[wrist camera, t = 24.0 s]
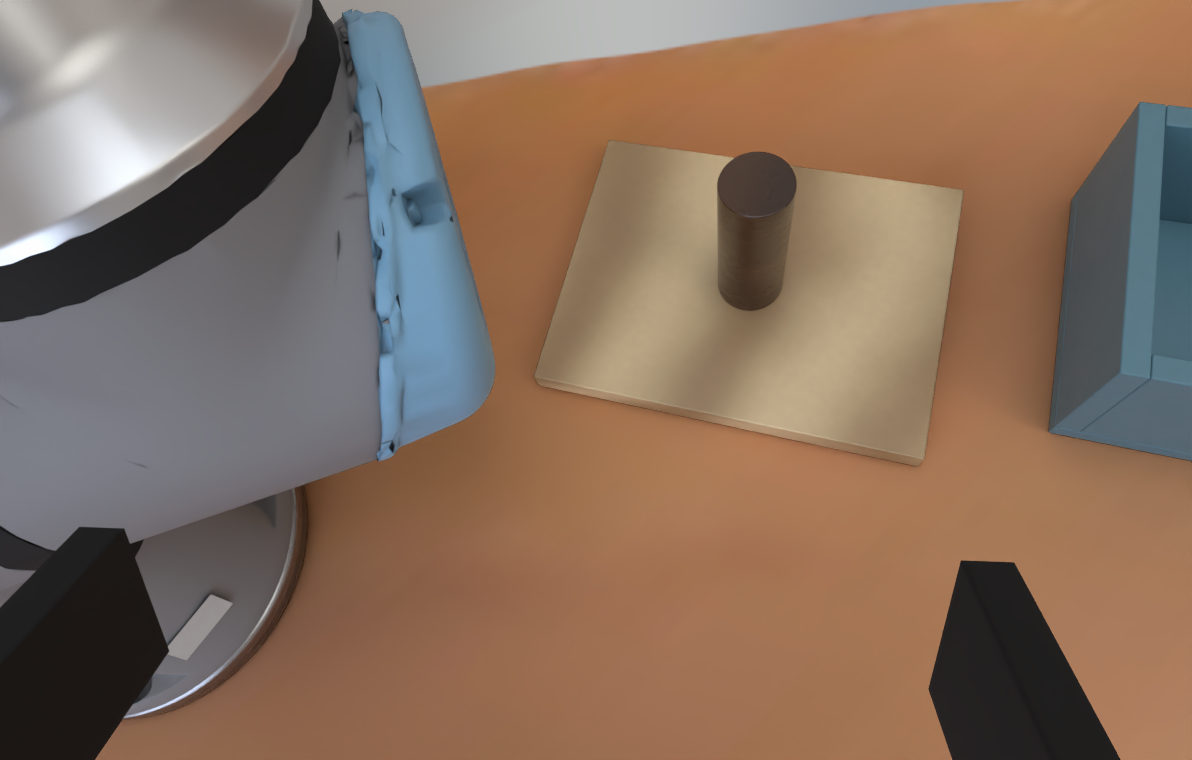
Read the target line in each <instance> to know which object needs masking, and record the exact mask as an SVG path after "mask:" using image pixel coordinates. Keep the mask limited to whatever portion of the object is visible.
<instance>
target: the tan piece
mask: <svg viewBox="0 0 1192 760" xmlns="http://www.w3.org/2000/svg"><path fill="white" fill-rule="evenodd" d="M963 194H964V190H960V189H953V188H946V187H939V186H932V185H925V184H918V183H911V182H904V181H896V180H889V179H882V178H875V177H868V176H861V175H854V174H847V173H840V172H833V171H826V170H819V169H812V168H804V167H797V166H790V165H789V164H788V163H787V162H786V161H784V160H783V159H782V158H780V157H778V156H776V155H774V154H770V153H766V152H750V153H746V154H743V155H740V156H738V157H736V158H734V157H727V156H719V155H712V154H705V153H698V152H691V151H684V150H677V149H670V148H663V147H656V146H649V145H642V144H635V143H627V142H620V141H613V140H609V141H608V145H607V148H606V151H605V154H604V157H603V160H602V163H601V167H600V170H599V173H598V176H597V179H596V182H595V185H594V189H593V192H592V195H591V198H590V201H589V204H588V207H587V211H586V214H585V217H584V220H583V223H582V226H581V230H580V233H579V236H578V239H577V242H576V245H575V248H574V252H573V255H572V258H571V261H570V264H569V267H568V270H567V274H566V277H565V280H564V283H563V286H562V289H561V292H560V296H559V299H558V302H557V305H556V308H555V311H554V314H553V318H552V321H551V324H550V327H549V330H548V333H547V336H546V340H545V343H544V346H543V349H542V352H541V355H540V358H539V362H538V365H537V368H536V371H535V374H534V377H535V379H536V381H537V383H538V384H539V385H540V386H545V387H549V388H554V389H559V390H563V391H568V392H573V393H577V394H582V395H587V396H591V397H596V398H601V399H605V400H610V401H615V402H619V403H624V404H629V405H633V406H638V407H643V408H647V409H652V410H657V411H661V412H666V413H671V414H675V415H680V416H685V417H689V418H694V419H699V420H703V421H708V422H713V423H717V424H722V425H727V426H731V427H736V428H741V429H745V430H750V431H755V432H759V433H764V434H769V435H773V436H778V437H783V438H787V439H792V440H796V441H801V442H806V443H810V444H815V445H820V446H824V447H829V448H834V449H838V450H843V451H848V452H852V453H857V454H862V455H866V456H871V457H876V458H880V459H885V460H890V461H894V462H899V463H904V464H908V465H913V466H919V465H920V464H921V462H922V461H923V460H924V459H925V452H926V445H927V438H928V431H929V425H930V418H931V411H932V404H933V398H934V391H935V384H936V377H937V370H938V364H939V357H940V350H941V343H942V337H943V330H944V323H945V316H946V309H947V303H948V296H949V289H950V282H951V276H952V269H953V262H954V255H955V249H956V242H957V235H958V228H959V221H960V215H961V208H962V201H963Z"/></svg>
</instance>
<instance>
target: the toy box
mask: <svg viewBox="0 0 1192 760" xmlns="http://www.w3.org/2000/svg"><path fill="white" fill-rule="evenodd" d="M1049 432H1050V433H1055V434H1060V435H1065V436H1070V437H1075V438H1080V439H1085V440H1090V441H1095V442H1100V443H1105V444H1110V445H1115V446H1120V447H1125V448H1130V449H1135V450H1140V451H1145V452H1150V453H1155V454H1160V455H1165V456H1170V457H1175V458H1180V459H1185V460H1190V461H1192V108H1188V107H1179V106H1171V105H1168V106H1167V107H1166V105H1163V104H1154V103H1145V102H1140V103H1139V104H1138V105H1137V107H1136V108H1135V110H1134V111H1133V112H1132V114H1131V115H1130V117H1129V118H1128V120H1127V121H1126V123H1125V124H1124V125H1123V127H1122V128H1121V130H1120V131H1119V133H1118V134H1117V135H1116V137H1115V138H1114V140H1113V141H1112V143H1111V144H1110V145H1109V147H1108V148H1107V150H1106V151H1105V153H1104V154H1103V156H1102V157H1101V158H1100V160H1099V161H1098V163H1097V164H1096V166H1095V167H1094V168H1093V170H1092V171H1091V173H1090V174H1089V176H1088V177H1087V178H1086V180H1085V181H1084V183H1083V184H1082V186H1081V187H1080V189H1079V190H1078V191H1077V193H1076V194H1075V196H1074V197H1073V199H1072V201H1071V211H1070V221H1069V231H1068V241H1067V251H1066V261H1065V271H1064V282H1063V292H1062V302H1061V312H1060V322H1059V332H1058V342H1057V352H1056V362H1055V372H1054V382H1053V392H1052V402H1051V412H1050V423H1049Z"/></svg>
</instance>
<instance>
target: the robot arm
mask: <svg viewBox="0 0 1192 760" xmlns="http://www.w3.org/2000/svg"><path fill="white" fill-rule="evenodd" d="M494 378H495V359H494V354H493V349H492V344H491V340H490V336H489V332H488V328H487V324H486V321H485V317H484V313H483V309H482V305H481V301H480V298H479V294H478V290H477V287H476V283H475V279H474V275H473V272H472V268H471V264H470V261H469V257H468V253H467V249H466V246H465V242H464V238H463V235H462V231H461V228H460V224H459V220H458V217H457V213H456V209H455V206H454V202H453V199H452V195H451V192H450V188H449V185H448V181H447V178H446V174H445V171H444V167H443V164H442V160H441V156H440V152H439V149H438V145H437V141H436V138H435V134H434V131H433V127H432V124H431V120H430V117H429V113H428V110H427V106H426V103H425V99H424V96H423V92H422V89H421V85H420V82H419V79H418V75H417V72H416V68H415V65H414V62H413V59H412V56H411V54H410V50H409V48H408V44H407V41H406V37H405V34H404V30H403V27H402V25H401V24H400V22H399V21H398V20H397V19H396V18H395V17H394V16H393V15H391V14H389V13H386V12H379V11H377V12H372V13H363V12H360V11H358V10H355V11H353V12H352V9H351V10H348V11H346V12H344V13H342V17H341V18H340V19H339V20H338V21H337V22H335V23H334V24H333V23H332V22H331V21H330V19H329V18H328V16H327V14H326V12H325V11H324V9H323V7H322V5H321V3H320V1H319V0H0V760H95V758H96V757H97V756H98V754H99V753H100V751H101V750H102V748H103V747H104V745H105V744H106V743H107V741H108V740H109V738H110V737H111V735H112V734H113V732H114V731H115V729H116V728H117V727H118V725H119V724H120V722H121V721H122V720H126V719H137V718H145V717H150V716H155V715H159V714H163V713H166V712H169V711H172V710H175V709H177V708H180V707H182V706H184V705H187V704H189V703H191V702H193V701H195V700H197V699H198V698H200V697H202V696H204V695H206V694H207V693H209V692H210V691H212V690H213V689H215V688H216V687H218V686H219V685H221V684H222V683H223V682H225V681H226V680H227V679H228V678H229V677H231V676H232V675H233V674H234V673H236V672H237V671H238V670H239V669H240V668H241V667H242V666H243V665H244V664H245V663H246V662H247V661H248V660H249V659H250V658H251V657H252V656H253V654H254V653H255V652H256V651H257V650H258V649H259V648H260V646H261V645H262V644H263V643H264V641H265V640H266V638H267V637H268V636H269V634H270V633H271V632H272V630H273V629H274V627H275V625H276V624H277V622H278V621H279V619H280V617H281V616H282V614H283V612H284V610H285V608H286V606H287V604H288V602H289V600H290V598H291V595H292V593H293V590H294V588H295V585H296V583H297V580H298V576H299V573H300V570H301V567H302V562H303V558H304V553H305V547H306V540H307V525H308V515H307V502H306V495H305V489H304V484H307V483H310V482H313V481H316V480H319V479H322V478H324V477H327V476H330V475H333V474H336V473H339V472H342V471H345V470H348V469H351V468H354V467H357V466H360V465H363V464H365V463H368V462H371V461H374V460H377V461H382V460H386V459H389V458H391V457H392V456H393V455H395V453H396V452H397V450H398V448H399V447H402V446H404V445H406V444H409V443H411V442H413V441H416V440H418V439H420V438H423V437H425V436H427V435H430V434H432V433H435V432H437V431H439V430H442V429H444V428H446V427H449V426H451V425H453V424H456V423H458V422H460V421H462V420H464V419H466V418H468V417H469V416H471V415H472V414H473V413H475V412H476V411H477V410H478V409H479V408H480V407H481V406H482V404H483V403H484V402H485V400H486V399H487V397H488V395H489V393H490V391H491V389H492V386H493V383H494ZM929 692H930V695H931V698H932V701H933V704H934V707H935V710H936V713H937V716H938V718H939V721H940V724H941V727H942V730H943V733H944V736H945V739H946V742H947V745H948V748H949V751H950V754H951V757H952V760H1120V758H1119V756H1118V754H1117V752H1116V750H1115V749H1114V747H1113V745H1112V743H1111V741H1110V739H1109V737H1108V736H1107V734H1106V732H1105V730H1104V728H1103V726H1102V725H1101V723H1100V721H1099V719H1098V717H1097V715H1096V713H1095V712H1094V710H1093V708H1092V706H1091V704H1090V702H1089V700H1088V699H1087V697H1086V695H1085V693H1084V691H1083V689H1082V687H1081V686H1080V684H1079V682H1078V680H1077V678H1076V676H1075V674H1074V673H1073V671H1072V669H1071V667H1070V665H1069V663H1068V661H1067V660H1066V658H1065V656H1064V654H1063V652H1062V650H1061V648H1060V647H1059V645H1058V643H1057V641H1056V639H1055V637H1054V636H1053V634H1052V632H1051V630H1050V628H1049V626H1048V624H1047V623H1046V621H1045V619H1044V617H1043V615H1042V613H1041V611H1040V610H1039V608H1038V606H1037V604H1036V602H1035V600H1034V598H1033V597H1032V595H1031V593H1030V591H1029V589H1028V587H1027V585H1026V584H1025V582H1024V580H1023V578H1022V576H1021V574H1020V572H1019V571H1018V569H1017V567H1016V565H1015V563H1012V562H986V561H961V563H960V567H959V571H958V575H957V579H956V583H955V587H954V590H953V594H952V598H951V602H950V606H949V610H948V614H947V618H946V622H945V626H944V630H943V634H942V638H941V642H940V646H939V650H938V654H937V658H936V662H935V666H934V670H933V673H932V677H931V681H930V685H929Z"/></svg>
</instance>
